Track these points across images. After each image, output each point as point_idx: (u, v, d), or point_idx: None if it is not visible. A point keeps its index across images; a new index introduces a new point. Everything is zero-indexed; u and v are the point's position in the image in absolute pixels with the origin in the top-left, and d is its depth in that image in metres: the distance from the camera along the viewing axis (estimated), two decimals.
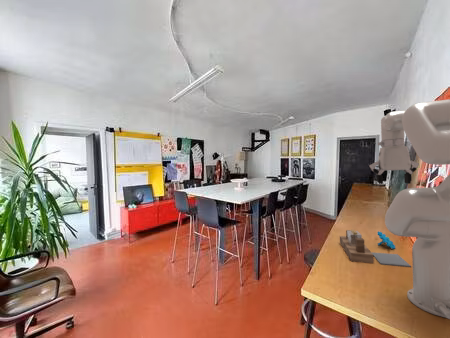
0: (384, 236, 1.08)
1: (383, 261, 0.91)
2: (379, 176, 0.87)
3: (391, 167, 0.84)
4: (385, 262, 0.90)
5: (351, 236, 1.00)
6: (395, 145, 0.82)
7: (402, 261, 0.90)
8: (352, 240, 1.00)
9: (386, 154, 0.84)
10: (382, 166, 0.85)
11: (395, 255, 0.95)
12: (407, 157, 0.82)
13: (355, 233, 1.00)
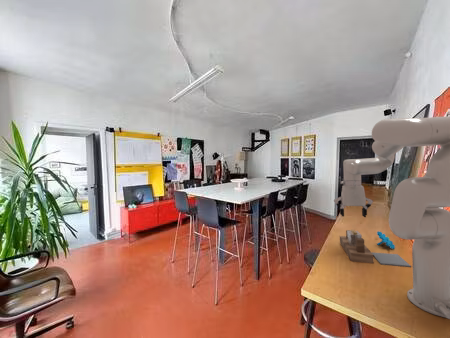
0: (384, 236, 1.08)
1: (383, 261, 0.91)
2: (341, 210, 1.03)
3: (350, 203, 1.00)
4: (385, 262, 0.90)
5: (351, 236, 1.00)
6: (353, 185, 0.98)
7: (402, 261, 0.90)
8: (352, 240, 1.00)
9: (346, 192, 1.00)
10: (343, 202, 1.01)
11: (395, 255, 0.95)
12: (363, 196, 0.98)
13: (355, 233, 1.00)
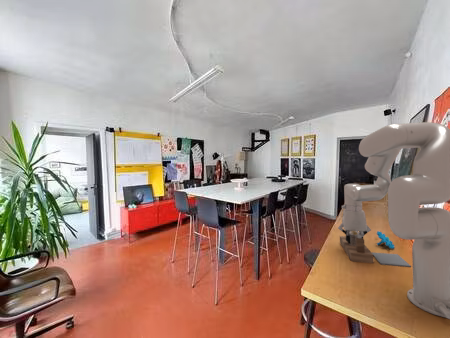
0: (383, 236, 1.08)
1: (383, 261, 0.91)
2: (347, 236, 1.03)
3: (351, 228, 1.00)
4: (385, 262, 0.90)
5: (351, 236, 1.00)
6: (354, 211, 0.99)
7: (402, 261, 0.90)
8: (352, 240, 1.00)
9: (347, 217, 1.01)
10: (344, 227, 1.02)
11: (395, 255, 0.95)
12: (364, 221, 0.99)
13: (355, 233, 1.00)
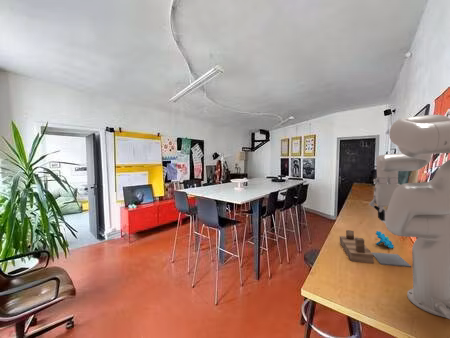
0: (383, 236, 1.08)
1: (383, 261, 0.91)
2: (380, 213, 0.93)
3: (385, 203, 0.90)
4: (385, 262, 0.90)
5: (385, 212, 0.90)
6: (389, 183, 0.89)
7: (402, 261, 0.90)
8: None
9: (381, 191, 0.91)
10: (377, 202, 0.92)
11: (395, 255, 0.95)
12: None
13: None
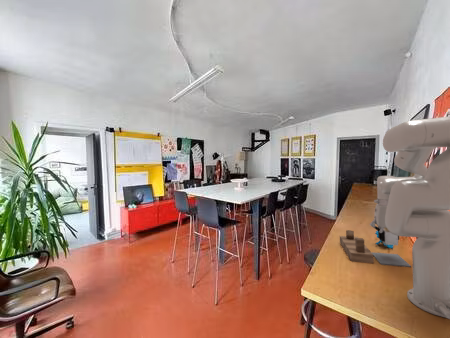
0: None
1: (383, 261, 0.91)
2: (380, 234, 0.93)
3: (386, 225, 0.91)
4: (385, 262, 0.90)
5: (386, 233, 0.91)
6: None
7: (402, 261, 0.90)
8: (387, 238, 0.91)
9: (382, 212, 0.91)
10: (378, 223, 0.92)
11: (395, 255, 0.95)
12: None
13: None
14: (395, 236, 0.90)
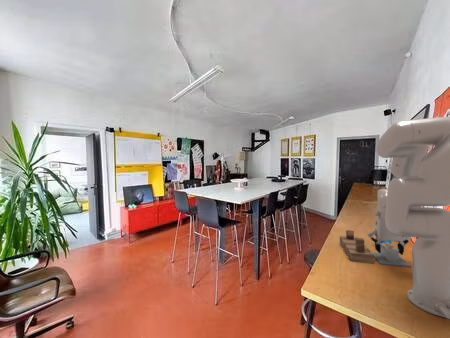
0: None
1: (383, 261, 0.91)
2: (377, 245, 0.94)
3: (386, 238, 0.91)
4: (385, 262, 0.90)
5: (386, 250, 0.91)
6: None
7: (402, 261, 0.90)
8: (388, 254, 0.91)
9: (382, 225, 0.91)
10: (378, 236, 0.92)
11: None
12: None
13: (391, 247, 0.91)
14: (396, 253, 0.90)
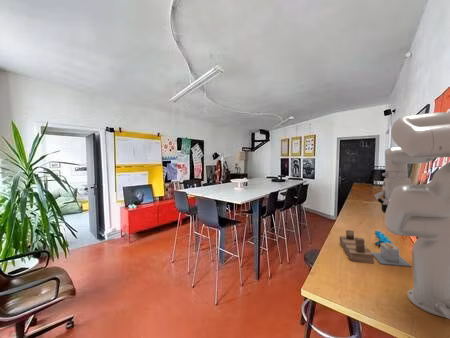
0: (382, 235, 1.09)
1: (383, 261, 0.91)
2: (384, 206, 0.90)
3: None
4: (385, 262, 0.90)
5: (386, 250, 0.91)
6: (399, 177, 0.86)
7: (402, 261, 0.90)
8: (388, 254, 0.91)
9: (391, 185, 0.88)
10: (387, 196, 0.88)
11: None
12: None
13: (391, 247, 0.91)
14: (396, 253, 0.90)
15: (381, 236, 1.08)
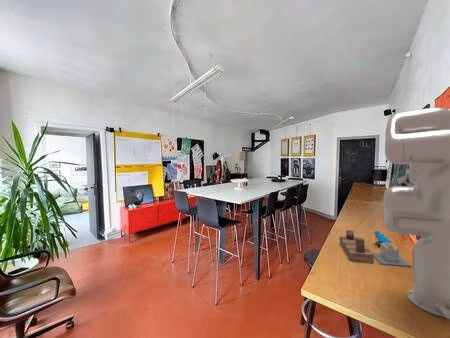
0: (381, 235, 1.09)
1: (383, 261, 0.91)
2: None
3: None
4: (385, 262, 0.90)
5: (386, 250, 0.91)
6: None
7: (402, 261, 0.90)
8: (388, 254, 0.91)
9: (416, 168, 0.82)
10: (411, 180, 0.82)
11: None
12: None
13: (391, 247, 0.91)
14: (396, 253, 0.90)
15: (381, 236, 1.08)
